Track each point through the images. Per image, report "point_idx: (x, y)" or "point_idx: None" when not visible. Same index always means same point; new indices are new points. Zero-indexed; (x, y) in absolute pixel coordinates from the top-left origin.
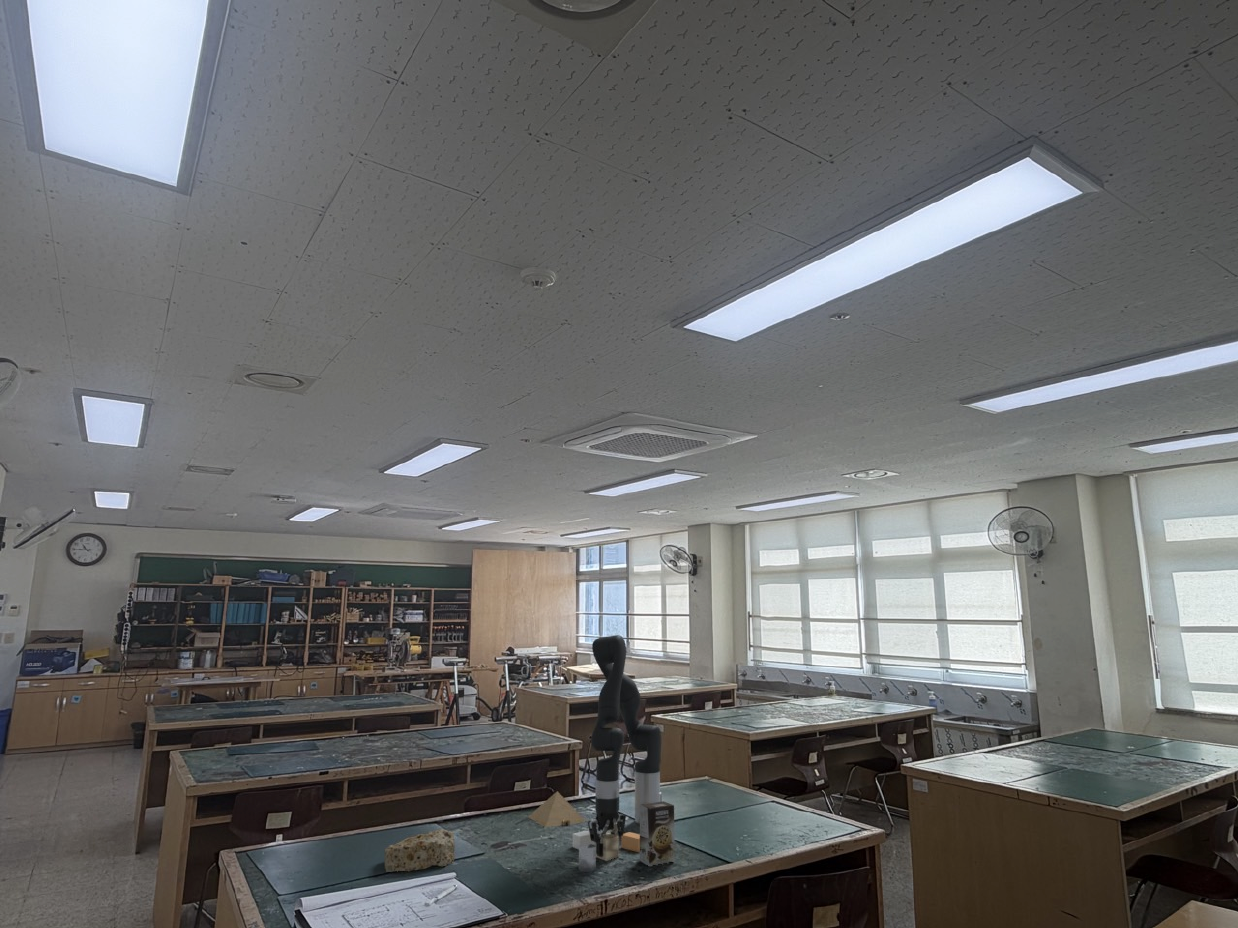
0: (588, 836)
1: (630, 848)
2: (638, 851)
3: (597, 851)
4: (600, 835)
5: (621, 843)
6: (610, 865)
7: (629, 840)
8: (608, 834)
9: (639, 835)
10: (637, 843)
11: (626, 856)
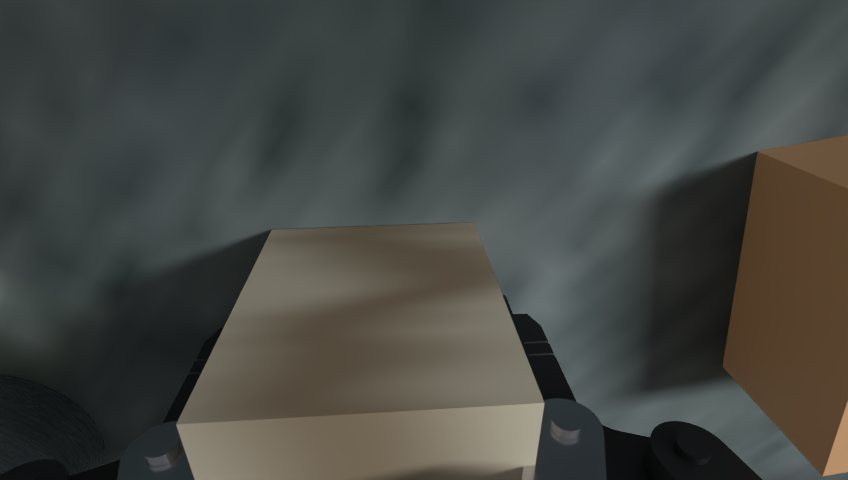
0: None
1: (746, 288)
2: (728, 368)
3: None
4: (279, 452)
5: (793, 169)
6: None
7: (814, 329)
8: (459, 475)
9: None
10: (780, 420)
11: None
